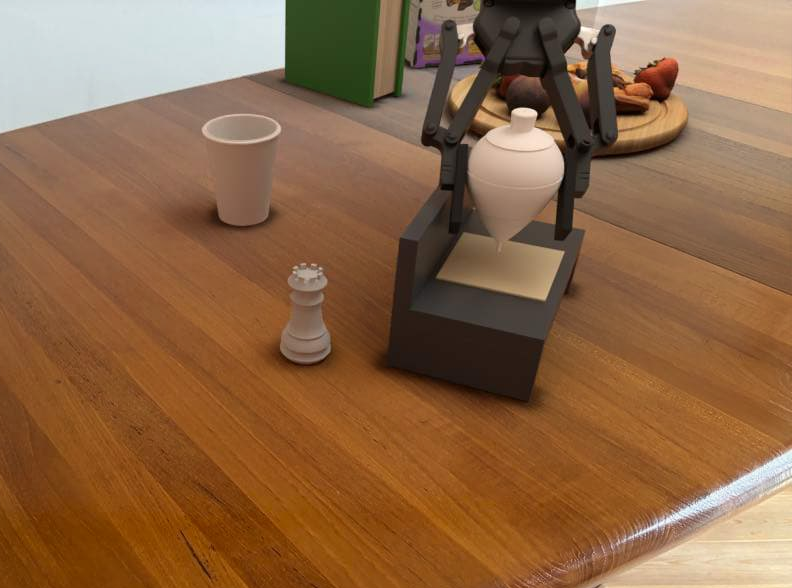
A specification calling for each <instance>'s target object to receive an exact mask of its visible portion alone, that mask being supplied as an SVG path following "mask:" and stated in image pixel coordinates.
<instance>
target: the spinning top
mask: <svg viewBox="0 0 792 588" xmlns="http://www.w3.org/2000/svg"><path fill="white" fill-rule="evenodd" d="M536 118H537V112H536V111H535V110H533V109H529V108H517V109H514V110H513V111H512V112H511V125H506V126H501V127H498V128H495V129H492V130H490V131H489V132H488V133H487V134H486V135H485V136H482V137H481V138H480V139H479V140H478V141H477V142H476V143H475V144H474V145H473V148H472V149H471V151H470V153H469V155H468V157H467V167H466V178H465V183H466V187H467V190H468V193H469V196H470V199H471V201H472V204H473V208H474V210H476V211H477V213H478V215H479V217H480V219H481V221H482V222H483V224H484V226H485V227H486V229H487V230H488V232H489V233H490V235H491V236H492V237H493V239H494V240H495V241H497V242H498V243H497V248H496V251H497V252H500V251H501V246H502V242H506V241H507V240H509V239H510V238H511V237H513V236H514V235H515V234H517V233H518V232H519V231H521V230H522V229H523V228H524V227H525V226H526V225H527V224H529V223H530V222H531V221H532V220H534V219H536V218H537V217H538V215H540V214H541V213H542V212H543V210H544V209H546V207H547V206H548V204H550V202H551V201H552V200H553V199H554V197H555V196H556V194H558V189H559V188H560V185H561V183H562V179H563V177H564V160H563V157H564V156H563V153H561V152H560V150H559V148H558V146H557V145H556V143H555V142H554V139H553V137H552V136H551V135H549V134H548V133H546V132H544V131H543V130H540V129H538V128H535V127H534V124H535V121H536Z"/></svg>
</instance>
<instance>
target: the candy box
mask: <svg viewBox="0 0 792 588" xmlns="http://www.w3.org/2000/svg"><path fill="white" fill-rule="evenodd" d="M480 1H481V0H410V10H409V20H408V31H407V41H406V52H405V63H407V64H408V65H409V66H410V67H411V68H412V69H420V68H421V69H422V68H430V67H431V68H433V67H439V63H440V59H441V57H440V49H439V39H440V32H441V27H442V23H443V22H444V21H445V20H448V19H449V20H453V21H455V22H456V25H460V24H467V23H473V22H474V20H475V18H476V17H477V16H478V14H479V12H480ZM483 61H485V57H484V56H483V54H482V53H481V51H480V50H479V49H478V47H477V46H476V44H475V43H474V41H473V40H470V41H469V42H468V43H467V44H466V48H465V51H464V52H463V53H461V54H459V55H457V58H456V62H455V66H456V65H468V64H481V63H482V62H483Z"/></svg>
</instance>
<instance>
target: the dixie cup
mask: <svg viewBox="0 0 792 588" xmlns="http://www.w3.org/2000/svg"><path fill="white" fill-rule="evenodd" d="M281 132H282V127H281V125H280V124H279V123H278V122H277V121H276V120H275V119H273V118H271V117H268V116H265V115H261V114H254V113H233V114H226V115H221V116H217V117H214V118H212V119H210V120H208V121H207V122H206V123H204V125H203V126H202V128H201V134H202V135H203V137H204V139H205V146H206V150H207V157H208V162H209V168H210V172H211V180H212V185H213V190H214V197H215V202H216V209H217V213H218V218H219V220H220V221H222V222H223V223H224V224H225V223H226V224H228V225H231V226H237V227H239V226H240V227H247V226H248V227H249V226H254V225H258V224H260V223H263V222H264V221H266V219H268V217H269V212H270V205H271V197H272V189H273V180H274V174H275V173H274V172H275V165H276V158H277V157H276V156H277V149H278V140H279V136H280V134H281Z"/></svg>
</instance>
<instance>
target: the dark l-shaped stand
mask: <svg viewBox="0 0 792 588" xmlns="http://www.w3.org/2000/svg"><path fill="white" fill-rule="evenodd" d="M473 147H474V146H473ZM473 147H471V146H468V155H469V153H470V151H471V149H472V148H473ZM467 157H468V156H467ZM451 198H452V191H445V190H441V189H440V186H439V184H438V185H437V186H436V187H435V189H434V190H433V191H432V193H431V194H430V195H429V197H428V198H427V200H426V201H425V203H424V204H422V207H421V208H420V209H419V210H418V211H417V213H416V215H415V216H414V217H413V219H412V220H410V222H409V224H408V225H407V226H406V228H405V229H404V231H403V232H402V234H401V235H400V236H399V238H398V248H397V255H396V256H397V257H396V267H395V276H394V285H393V295H392V303H391V304H392V305H391V313H390V322H389V332H388V341H387V352H386V358H385V359H386V361H385V366H388V367H391V368H396V369H399V370H403V371H408V372H411V373H415V374H418V375H422V376H426V377H430V378H434V379H438V380H442V381H446V382H450V383H453V384H457V385H461V386H465V387H470V388H473V389H477V390H481V391H485V392H488V393H492V394H496V395H501V396H504V397H508V398H512V399H516V400H520V401H524V402H528V403H529V402H530V400H531V398H532V396H533V392H534V389H535V385H536V381H537V377H538V373H539V368H540V365H541V361H542V356H543V353H544V348H545V345H546V343H547V341H548V337H549V335H550V331H551V329H552V326H553V324H554V321H555V319H556V316H557V313H558V311H559V308H560V305H561V302H562V300H563V297H564V295H565V294H569V293H570V291H571V287H572V284H573V280H574V275H575V272H576V270H577V265H578V262H579V261H578V260H579V258H580V254H581V250H582V246H583V242H584V239H585V234H586V229H583V228H578V227H573V226H572V231H571V232H570V234H569V235H568V236H567V238H566V239H565V240H564V241H555V240H554V235H555V223H550V222H544V221H538V220H534V219H533V220H532V221H531V222H530V223H529V224H527V225H526V226H525V227H524V228H523V229H522V230H521V231H519V232H518V233H517V234H515V235H514V236H513V237H511V238H510V239H509V240H507V241H506V242H502V246H501V251H500V252H497V251H496V248H497V243H498V242H497V241H495V240H494V239H493V237H492V236H491V235H490V233H489V232H488V230H487V229H486V227H485V226H484V224H483V222H482V221H481V219H480V217H479V215H478V213H477V211H476V210H475V209H474V206H473V204H472V201H471V199H470V196H469V193H468V190H467V187H466V183H465V189H464V200H463V211H462V222H461V226H460V229H459V231H458V234H448V231H449V220H450V209H451Z"/></svg>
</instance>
